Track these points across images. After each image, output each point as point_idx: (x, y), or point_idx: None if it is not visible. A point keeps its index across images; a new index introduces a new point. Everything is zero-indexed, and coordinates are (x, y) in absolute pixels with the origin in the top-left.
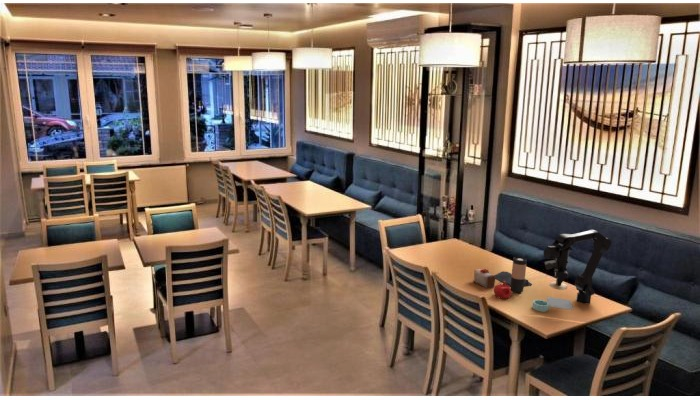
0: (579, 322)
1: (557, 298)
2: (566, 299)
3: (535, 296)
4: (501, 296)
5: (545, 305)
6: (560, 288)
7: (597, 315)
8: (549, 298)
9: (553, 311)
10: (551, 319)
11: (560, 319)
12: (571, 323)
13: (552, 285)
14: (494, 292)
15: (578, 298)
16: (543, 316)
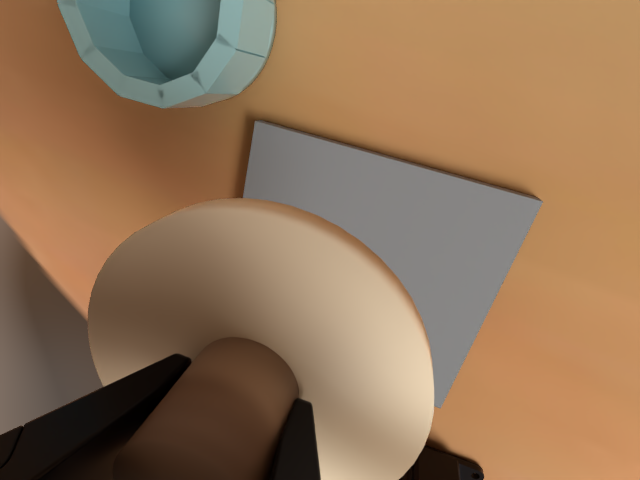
0: (55, 281)
1: (480, 309)
2: (453, 381)
3: (604, 69)
4: None
5: (84, 37)
6: (98, 341)
7: None
8: (482, 222)
9: (190, 153)
10: (23, 72)
11: (52, 157)
12: (17, 217)
13: (174, 245)
14: None
15: (410, 475)
16: (54, 6)
